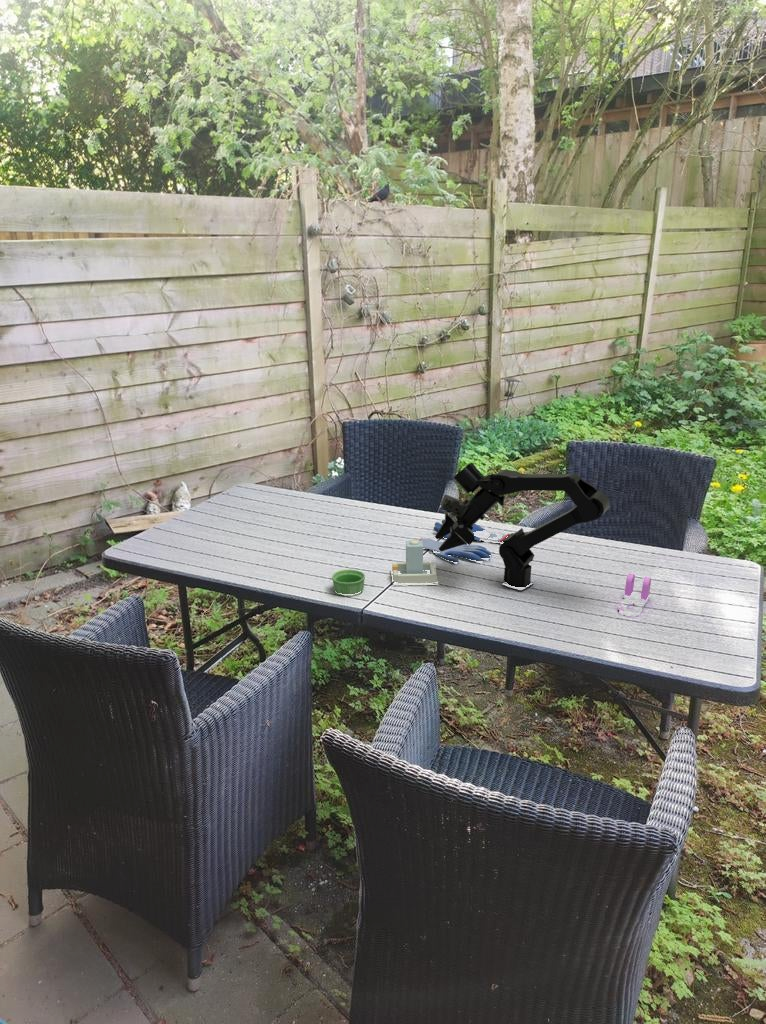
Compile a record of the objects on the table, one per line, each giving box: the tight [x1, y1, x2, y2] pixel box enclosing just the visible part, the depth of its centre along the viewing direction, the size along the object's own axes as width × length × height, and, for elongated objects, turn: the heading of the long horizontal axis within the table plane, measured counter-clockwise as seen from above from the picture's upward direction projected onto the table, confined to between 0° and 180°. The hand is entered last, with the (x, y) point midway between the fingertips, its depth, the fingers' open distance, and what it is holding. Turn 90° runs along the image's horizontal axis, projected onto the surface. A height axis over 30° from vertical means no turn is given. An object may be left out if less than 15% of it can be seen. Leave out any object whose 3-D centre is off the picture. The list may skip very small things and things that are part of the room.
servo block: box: [400, 539, 427, 574], centre depth 199 cm, size 8×4×11 cm, turn 92°
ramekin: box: [331, 569, 366, 594], centre depth 193 cm, size 9×9×4 cm
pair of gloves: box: [418, 518, 511, 563], centre depth 225 cm, size 32×26×4 cm
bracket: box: [618, 573, 652, 611], centre depth 183 cm, size 13×6×7 cm, turn 149°
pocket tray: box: [391, 561, 438, 583], centre depth 200 cm, size 13×10×4 cm
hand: (437, 544), depth 197 cm, fingers open, 9 cm apart
